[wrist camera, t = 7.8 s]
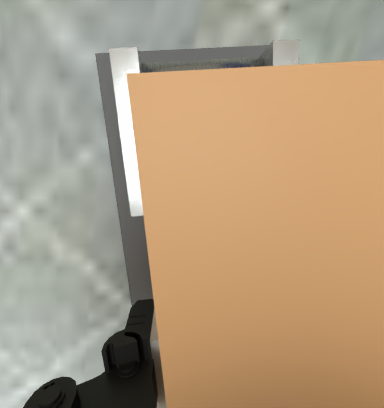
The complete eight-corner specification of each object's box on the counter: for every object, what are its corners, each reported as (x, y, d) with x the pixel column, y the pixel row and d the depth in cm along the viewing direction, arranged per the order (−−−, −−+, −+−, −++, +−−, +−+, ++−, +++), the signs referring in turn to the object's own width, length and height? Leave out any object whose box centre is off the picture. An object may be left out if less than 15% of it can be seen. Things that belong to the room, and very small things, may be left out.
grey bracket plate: (260, 361, 20) (286, 427, 16) (165, 373, 20) (161, 444, 15) (260, 75, 15) (299, 39, 10) (131, 82, 15) (108, 48, 10)
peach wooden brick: (248, 361, 17) (350, 657, 7) (185, 368, 16) (200, 686, 7) (244, 127, 13) (449, 56, 3) (164, 132, 13) (126, 73, 3)
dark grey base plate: (280, 373, 21) (283, 379, 20) (146, 389, 20) (145, 396, 20) (287, 48, 15) (291, 44, 14) (98, 57, 14) (95, 53, 14)
